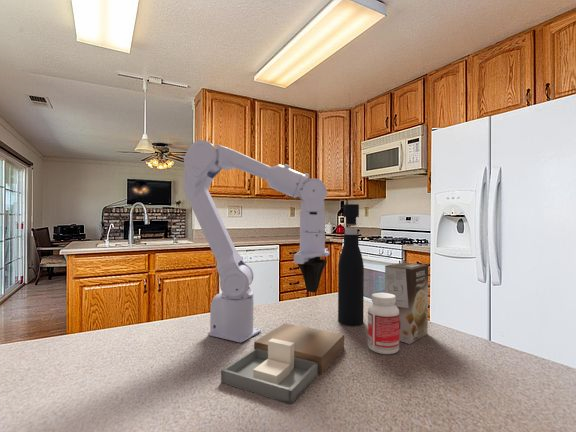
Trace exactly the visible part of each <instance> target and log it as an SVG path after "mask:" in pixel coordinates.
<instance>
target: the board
mask: <svg viewBox="0 0 576 432" xmlns="http://www.w3.org/2000/svg"><path fill="white" fill-rule="evenodd" d="M272 338H273V339H278V340H283V341H287V342H292V343H294V357H295V358H300V359H304V360H308V361H312V362H316V363H318V375H323V374H324V372H326V370H327V369H328V368H329V367H330V365H332V363H333V362H334V361H335V360H336V359H337V357H338V356H339V355H340V354H341V353H342V352H343V351H344V350H345V334H344V333H340V332H339V333H338V332H334V331H329V330H322V329H317V328H311V327H308V326H307V327H306V326H301V325H297V324H296V325H294V324H292V323H291V324H290V323H286V322H285V323H284V322H283V323H282V324H280V325H279V326H277V327H275V328H274V329H272V330H271V331H269V332H268V333H266V334H264V335H263V336H262V337H259V338H257V339H256V340H255V341H253V349H255V348H258V349H262V350H266V351H268V341H269V340H270V339H272Z"/></svg>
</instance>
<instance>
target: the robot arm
mask: <svg viewBox="0 0 576 432" xmlns="http://www.w3.org/2000/svg"><path fill="white" fill-rule="evenodd" d="M214 145H215V146H214ZM183 163H184V172H183V184H182V185H183V186H182V187H183V192H184V194H185V196H186V198H187V200H188V203H189V205H190V206H191V209H192V211H193V213H194V215H195V217H196V220H197V222H198V224H199V226H200V228H201V230H202V233H203V235H204V237H205V239H206V241H207V243H208V245H209V248H210V250H211V252H212V254H213V256H214V258H215V262H216V271H217V273H218V276H219V288H220V290H221V292H219V293H217V294H216V295H214V296H213V298H212V301H211V303H210V317H209V318H210V319H209V321H210V323H209V324H210V330H209V332H207V335H208V336H210V337H215V338H218V339H219V338H220V339H224V340H228V341H230V342H231V341H232V342H237V343H243V342H245V341H247V340H249V339H250V338H253V336H256V335H257V334H259V333H261V331H262V330H261V328H258V327H254V291H253V290H252V288H251V287H250V286H251V285H252V282H253V281H254V272H253V270H252V268H251V266H249V265H248V264H247V263H246V262H245V261H244V260H243V257H242V256H241V254H240V253H239V252H238V251H237V248H236V247H235V243H234V242H233V241H232V238H231V236H230V233H229V232H228V230H227V227H226V225H225V223H224V221H223V219H222V217H221V215H220V212H219V210H218V208H217V205H216V204H215V201H214V200H213V198H212V195H211V193H210V191H209V189H210V187H211V184H212V182H213V180H214V178H215V177H216V176H217V175H218V174H220V172H221V171H222V170H224V171H230V170H233V169H234V170H235V169H237V170H239V171H242V172H244V173H247V174H250V175H253V176H255V177H258V178H259V179H260V178H261V179H263V180H266V182H267V184H268V186H269V188H270V189H273V190H275V191H277V192H280V193H282V194H284V195H286V196H289V197H291V198H293V199H296V198H299V199H300V202H301V203H300V211H299V251H297V252H296V253H294V254H293V264H297V266H298V268H299V269H300V272H301V274H302V277H303V281H304V285H305V289H306V292H308V293H316V292H318V290H319V288H320V287H319V286H320V281H321V277H322V274H323V272H324V269H325V267H326V265H327V261H328V260H327V259H325V258H324V257H328V256H329V255H330V254H331V252H330V251H329V248H328V247H326V211H325V206H326V205H325V200H326V198H327V195H328V190H327V188H326V185H325V184H324V182H323V181H322V180H320V179H318V178H311V177H310V174H309V173H307V172H306V173H301V172H299V171H297V170H294V169H291V166H290V164H286V163H284V165H282V164H280V163H279V164H277V165H275V166H270V165H268V164H265V163H263V162H261V161H259V160H256V159H254V158H252V157H250V156H248V155H246V154H243V153H241V152H239V151H236V150H234V149H232V148H229V147H226V146H223V145H221V144H217V143H214V144H212V143H211V142H209V141H207V140H204V139H203V140H201V139H200V140H196V141H194V142H193V143H191V145H189V148H188V149H187V151H186V153H185V155H184V156H183ZM309 177H310V178H309ZM322 257H323V258H324V259H323V258H322Z"/></svg>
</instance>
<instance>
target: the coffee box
mask: <svg viewBox="0 0 576 432" xmlns="http://www.w3.org/2000/svg"><path fill="white" fill-rule="evenodd" d="M384 293H389V294H393V295H395V296H396V302H395V304H394V305H395V306H396V307H397V308H398V309H399V342H401V343H405V344H407V345H411V344H413V343H414V342H416V341H417V340H419V339H421V338H423V337H425V336H426V335H428V333H429V332H428V331H429V329H428V326H429V325H428V323H429V319H428V317H429V316H428V315H429V311H428V310H429V264H422V263H413V262H398V263H393V264H388V265H385V266H384Z"/></svg>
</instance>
